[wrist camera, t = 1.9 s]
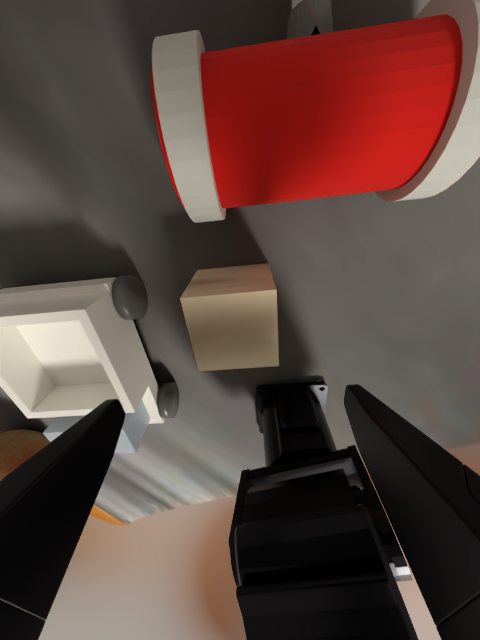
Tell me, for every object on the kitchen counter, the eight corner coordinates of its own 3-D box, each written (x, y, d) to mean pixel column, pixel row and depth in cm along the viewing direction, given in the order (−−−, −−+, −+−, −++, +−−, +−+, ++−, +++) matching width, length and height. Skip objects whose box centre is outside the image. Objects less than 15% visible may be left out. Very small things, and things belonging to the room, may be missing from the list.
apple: (62, 419, 24) (-11, 509, 17) (77, 461, 28) (22, 548, 21) (-16, 410, 24) (-123, 500, 17) (10, 454, 28) (-68, 541, 21)
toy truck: (181, 398, 22) (162, 456, 17) (86, 403, 23) (43, 461, 18) (139, 269, 16) (91, 303, 11) (10, 282, 17) (-88, 319, 12)
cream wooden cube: (270, 324, 18) (279, 366, 14) (209, 329, 19) (198, 371, 14) (268, 262, 16) (276, 289, 12) (197, 269, 16) (179, 298, 12)
